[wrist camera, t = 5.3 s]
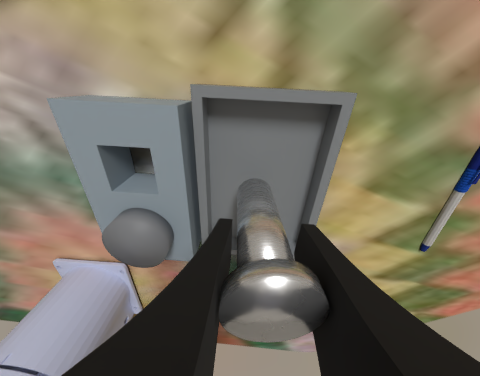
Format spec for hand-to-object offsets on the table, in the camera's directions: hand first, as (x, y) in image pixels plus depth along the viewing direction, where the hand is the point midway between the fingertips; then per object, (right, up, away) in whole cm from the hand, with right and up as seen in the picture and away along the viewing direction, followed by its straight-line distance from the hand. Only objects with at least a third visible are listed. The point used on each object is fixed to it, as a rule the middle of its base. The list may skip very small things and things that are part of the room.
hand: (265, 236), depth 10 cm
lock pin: (0, +2, +4) cm, 4 cm away
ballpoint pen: (+16, +2, +6) cm, 17 cm away
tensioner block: (-8, +3, +6) cm, 11 cm away
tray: (0, +3, +6) cm, 6 cm away
